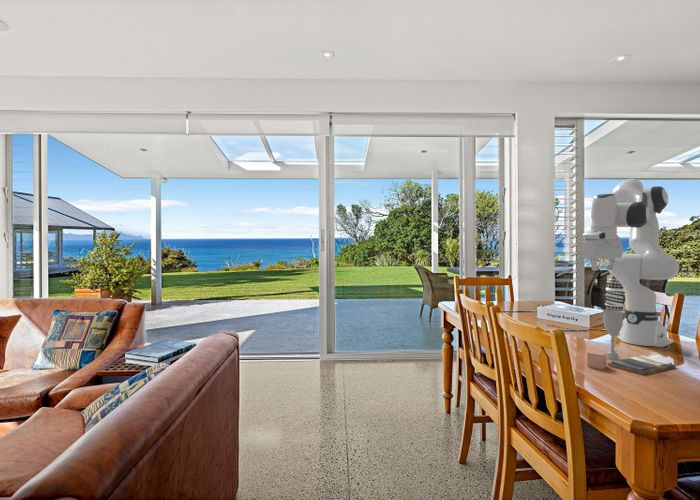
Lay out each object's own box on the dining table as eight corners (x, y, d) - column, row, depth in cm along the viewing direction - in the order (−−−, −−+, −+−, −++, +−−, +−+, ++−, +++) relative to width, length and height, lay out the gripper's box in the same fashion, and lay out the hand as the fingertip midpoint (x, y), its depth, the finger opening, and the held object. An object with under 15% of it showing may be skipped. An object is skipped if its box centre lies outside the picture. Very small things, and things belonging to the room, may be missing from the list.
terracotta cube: (590, 363, 155) (591, 350, 155) (606, 366, 151) (606, 352, 151) (587, 366, 151) (587, 352, 151) (602, 369, 148) (603, 355, 148)
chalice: (620, 356, 164) (622, 310, 163) (625, 361, 157) (627, 313, 157) (599, 354, 166) (600, 309, 166) (603, 359, 160) (604, 312, 159)
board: (639, 358, 162) (639, 354, 161) (675, 367, 151) (675, 362, 151) (607, 365, 152) (607, 360, 152) (643, 375, 142) (643, 370, 142)
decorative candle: (608, 329, 214) (609, 279, 213) (600, 325, 223) (601, 278, 223) (627, 330, 213) (629, 280, 212) (619, 326, 222) (620, 278, 221)
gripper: (611, 235, 174) (610, 268, 175) (579, 234, 165) (578, 270, 165) (627, 235, 169) (626, 270, 169) (595, 234, 159) (594, 271, 160)
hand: (602, 270), depth 167 cm, fingers open, 8 cm apart
